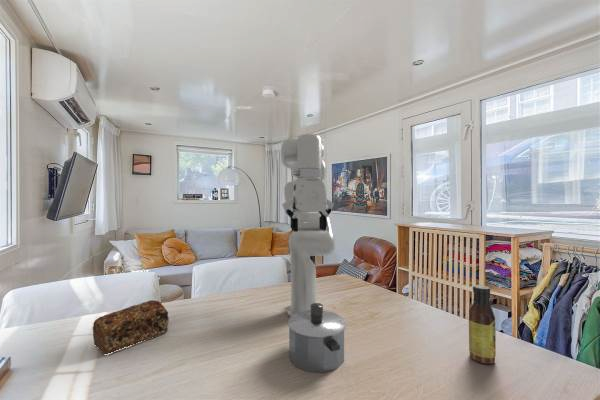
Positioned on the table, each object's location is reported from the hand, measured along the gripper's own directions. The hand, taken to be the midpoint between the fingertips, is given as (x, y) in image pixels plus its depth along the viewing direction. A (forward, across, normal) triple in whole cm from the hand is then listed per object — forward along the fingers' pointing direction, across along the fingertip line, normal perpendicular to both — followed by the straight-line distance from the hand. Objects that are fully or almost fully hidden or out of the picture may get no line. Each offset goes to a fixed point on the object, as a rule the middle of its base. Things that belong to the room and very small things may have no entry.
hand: (309, 230), depth 89 cm
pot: (+34, -2, -9) cm, 36 cm away
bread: (+35, -50, +23) cm, 65 cm away
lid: (+25, -2, -9) cm, 27 cm away
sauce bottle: (+34, +39, -29) cm, 60 cm away
